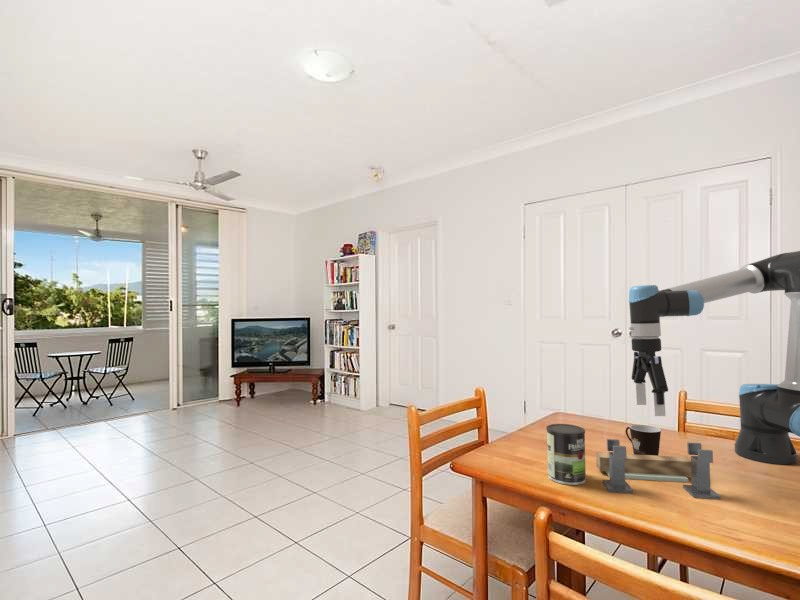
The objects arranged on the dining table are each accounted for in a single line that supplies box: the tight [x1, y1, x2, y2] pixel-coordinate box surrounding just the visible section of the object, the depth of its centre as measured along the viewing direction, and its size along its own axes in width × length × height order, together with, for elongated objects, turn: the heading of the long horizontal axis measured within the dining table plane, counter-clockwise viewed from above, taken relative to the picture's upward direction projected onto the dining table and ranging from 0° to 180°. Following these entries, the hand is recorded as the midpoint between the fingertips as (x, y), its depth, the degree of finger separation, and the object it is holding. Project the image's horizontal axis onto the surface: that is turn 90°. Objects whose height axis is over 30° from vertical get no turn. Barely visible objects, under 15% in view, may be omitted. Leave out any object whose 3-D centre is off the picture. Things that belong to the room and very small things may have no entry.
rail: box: [595, 452, 691, 477], centre depth 121 cm, size 24×4×4 cm, turn 79°
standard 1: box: [601, 438, 634, 495], centre depth 113 cm, size 6×6×12 cm
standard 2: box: [682, 442, 722, 500], centre depth 109 cm, size 6×6×12 cm
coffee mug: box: [625, 424, 662, 456], centre depth 134 cm, size 12×9×10 cm
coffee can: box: [545, 423, 587, 486], centre depth 120 cm, size 10×10×14 cm
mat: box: [605, 472, 689, 483], centre depth 121 cm, size 20×8×1 cm, turn 79°
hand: (649, 410), depth 123 cm, fingers open, 13 cm apart
